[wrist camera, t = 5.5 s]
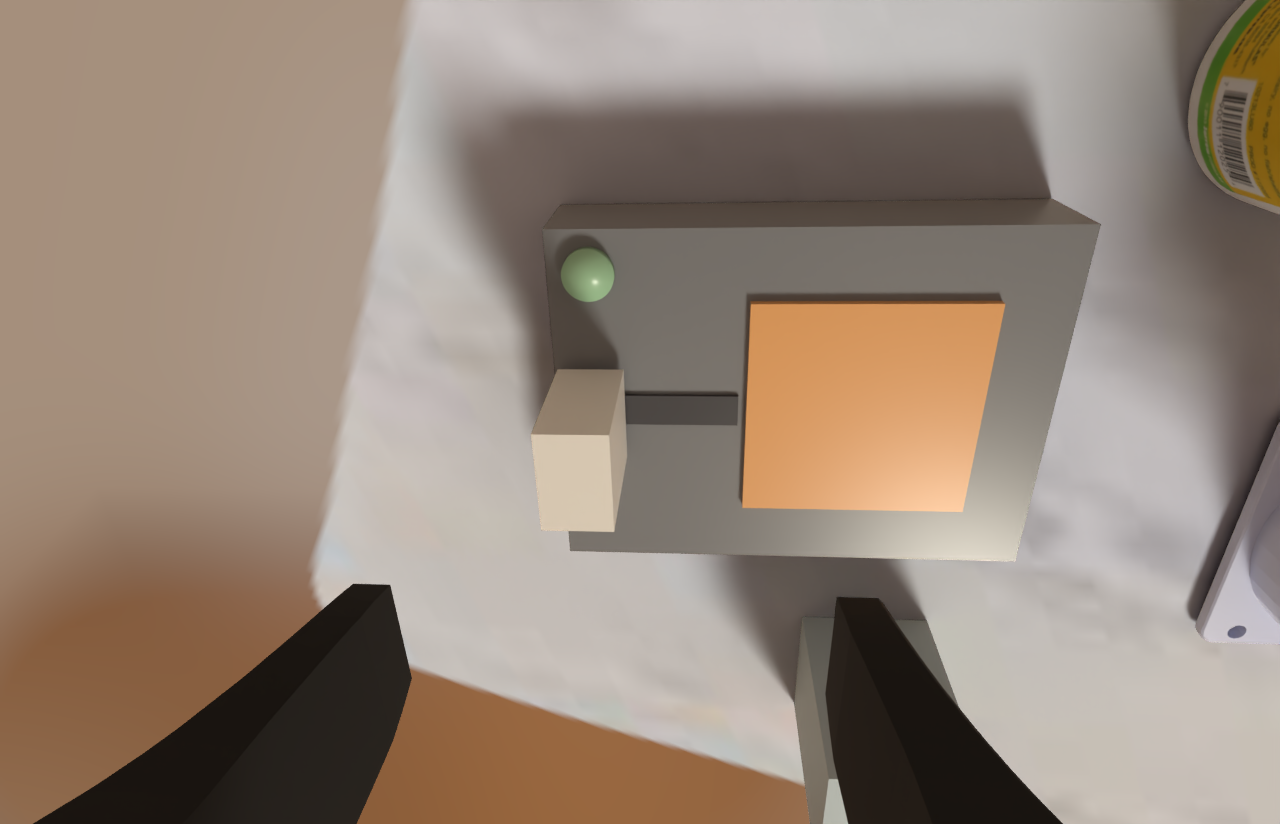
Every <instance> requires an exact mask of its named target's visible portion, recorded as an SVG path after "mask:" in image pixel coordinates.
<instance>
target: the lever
mask: <svg viewBox="0 0 1280 824" xmlns="http://www.w3.org/2000/svg"><path fill="white" fill-rule="evenodd" d="M531 439H532V449H533V458H534V467H535V476H536V486H537V495H538V504H539V513H540V523H541V530H547V531H594V532H614V531H615V525H616V519H617V513H618V507H619V501H620V495H621V489H622V483H623V477H624V471H625V466H626V460H627V440H626V416H625V391H624V370H604V369H557V372H556V374H555V377H554V379H553V381H552V384H551V386H550V389H549V391H548V394H547V396H546V399H545V401H544V404H543V406H542V409H541V411H540V413H539V416H538V418H537V421H536V423H535V426H534V428H533V431H532V433H531Z"/></svg>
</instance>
